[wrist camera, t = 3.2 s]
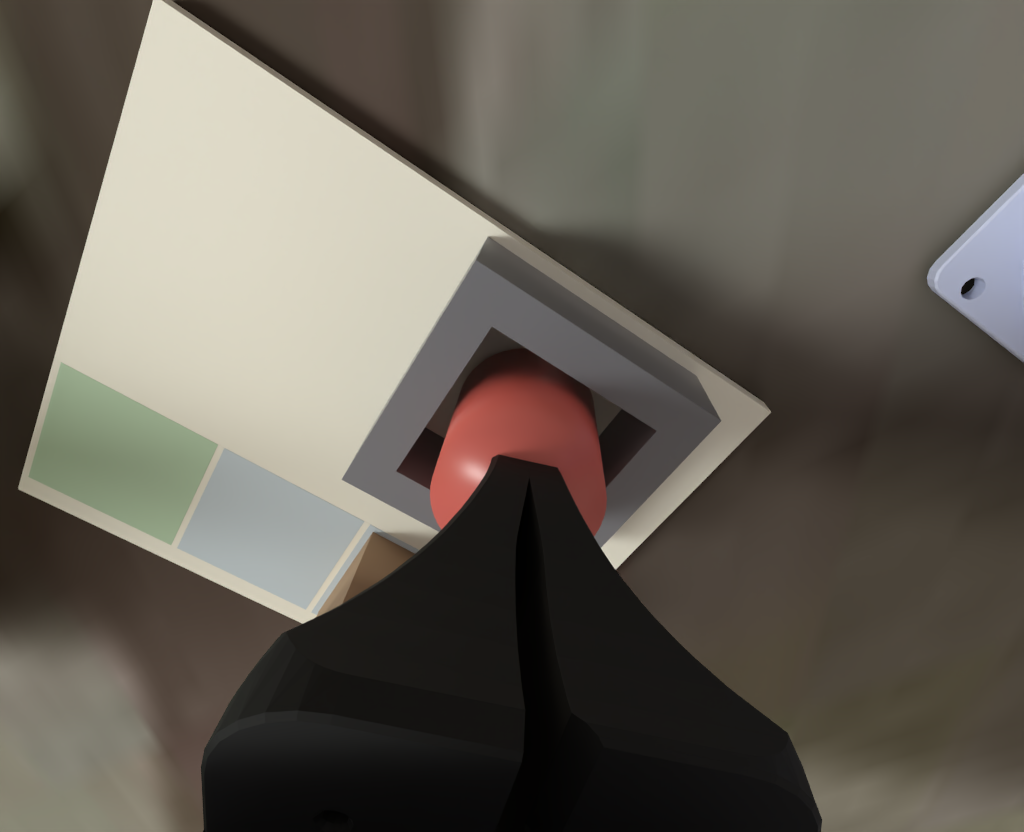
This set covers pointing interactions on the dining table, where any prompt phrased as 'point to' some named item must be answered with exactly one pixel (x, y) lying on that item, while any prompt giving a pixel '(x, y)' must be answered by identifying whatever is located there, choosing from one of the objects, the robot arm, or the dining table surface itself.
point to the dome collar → (566, 345)
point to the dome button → (521, 432)
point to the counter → (367, 569)
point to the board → (272, 329)
